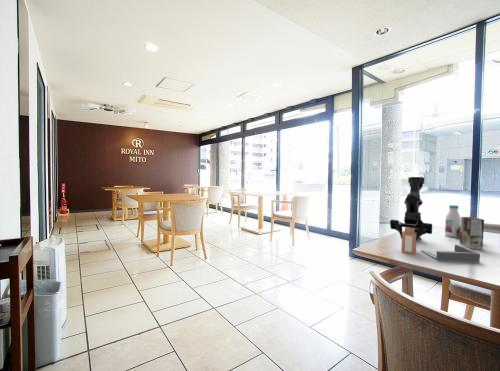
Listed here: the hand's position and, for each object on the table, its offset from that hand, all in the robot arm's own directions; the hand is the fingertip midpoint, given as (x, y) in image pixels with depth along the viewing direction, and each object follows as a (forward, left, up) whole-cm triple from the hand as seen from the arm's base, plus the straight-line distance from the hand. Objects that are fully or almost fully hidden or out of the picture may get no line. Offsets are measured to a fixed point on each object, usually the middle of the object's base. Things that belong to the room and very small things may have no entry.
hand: (408, 239), depth 130 cm
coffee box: (-2, +43, -7) cm, 44 cm away
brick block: (-1, +1, -7) cm, 7 cm away
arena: (+9, +14, -7) cm, 18 cm away
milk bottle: (-23, +56, -7) cm, 61 cm away
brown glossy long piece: (-11, +54, -7) cm, 56 cm away
